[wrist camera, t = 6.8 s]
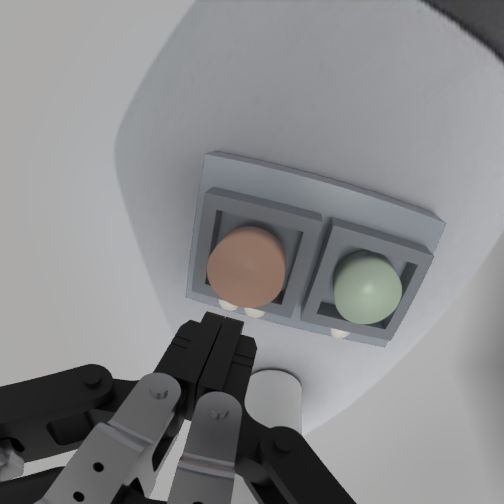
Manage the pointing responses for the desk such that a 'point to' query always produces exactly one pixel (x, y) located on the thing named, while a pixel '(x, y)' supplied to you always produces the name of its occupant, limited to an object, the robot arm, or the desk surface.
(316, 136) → the desk surface
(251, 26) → the desk surface
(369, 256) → the button one
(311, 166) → the desk surface
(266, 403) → the drinking glass
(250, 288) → the button two
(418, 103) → the desk surface
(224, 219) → the two-button control panel
